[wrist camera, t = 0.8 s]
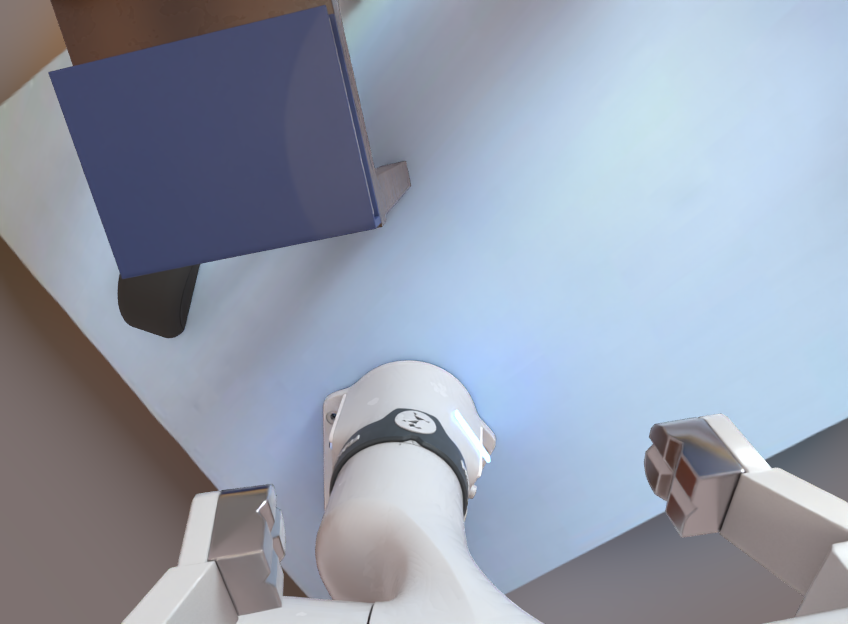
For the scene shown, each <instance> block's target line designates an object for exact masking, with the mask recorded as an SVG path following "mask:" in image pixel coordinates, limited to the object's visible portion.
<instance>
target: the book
mask: <svg viewBox="0 0 848 624" xmlns="http://www.w3.org/2000/svg"><path fill="white" fill-rule="evenodd" d="M48 73H49V76H50V79H51V81H52V84H53V87H54V90H55V93H56V95H57V98H58V101H59V104H60V107H61V109H62V112H63V115H64V118H65V120H66V123H67V126H68V129H69V132H70V134H71V137H72V140H73V143H74V146H75V148H76V151H77V154H78V157H79V160H80V162H81V165H82V168H83V171H84V174H85V176H86V179H87V182H88V185H89V188H90V190H91V193H92V196H93V199H94V202H95V204H96V207H97V210H98V213H99V216H100V218H101V221H102V224H103V227H104V229H105V232H106V235H107V238H108V241H109V243H110V246H111V249H112V252H113V255H114V257H115V260H116V263H117V266H118V269H119V271H120V274H121V277H122V279H126V278H131V277H136V276H141V275H146V274H151V273H156V272H161V271H166V270H171V269H176V268H181V267H186V266H191V265H196V264H201V263H206V262H211V261H216V260H221V259H226V258H231V257H236V256H241V255H246V254H251V253H256V252H261V251H266V250H271V249H276V248H281V247H286V246H291V245H296V244H301V243H306V242H311V241H317V240H322V239H327V238H332V237H337V236H342V235H347V234H352V233H357V232H362V231H367V230H372V229H376V228H377V227H378V225H379V224H380V223H381V218H380V214H379V209H378V205H377V201H376V196H375V192H374V187H373V183H372V178H371V174H370V169H369V165H368V160H367V156H366V152H365V147H364V143H363V138H362V134H361V129H360V125H359V120H358V116H357V111H356V107H355V103H354V98H353V94H352V89H351V85H350V80H349V76H348V71H347V67H346V62H345V58H344V54H343V49H342V45H341V40H340V36H339V31H338V27H337V22H336V18H335V14H329V15H328V11H327V7H326V5H323V6H318V7H314V8H310V9H306V10H302V11H298V12H294V13H290V14H286V15H281V16H277V17H273V18H269V19H265V20H261V21H257V22H253V23H249V24H244V25H240V26H236V27H232V28H228V29H224V30H220V31H216V32H212V33H208V34H203V35H199V36H195V37H191V38H187V39H183V40H179V41H175V42H171V43H166V44H162V45H158V46H154V47H150V48H146V49H142V50H138V51H134V52H129V53H125V54H121V55H117V56H113V57H109V58H105V59H101V60H97V61H93V62H88V63H84V64H80V65H76V66H72V67H68V68H64V69H60V70H56V71H51V72H48Z"/></svg>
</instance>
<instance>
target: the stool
mask: <svg viewBox="0 0 848 624" xmlns="http://www.w3.org/2000/svg"><path fill="white" fill-rule="evenodd" d="M51 3H52V6H53V9H54V12H55V15H56V18H57V20H58V24H59V26H60V29H61V32H62V35H63V38H64V41H65V44H66V47H67V50H68V53H69V55H70V58H71V61H72V64H73V66H76V65H80V64H84V63H88V62H93V61H97V60H101V59H105V58H109V57H113V56H117V55H121V54H125V53H129V52H134V51H138V50H142V49H146V48H150V47H154V46H158V45H162V44H166V43H171V42H175V41H179V40H183V39H187V38H191V37H195V36H199V35H203V34H208V33H212V32H216V31H220V30H224V29H228V28H232V27H236V26H240V25H244V24H249V23H253V22H257V21H261V20H265V19H269V18H273V17H277V16H281V15H286V14H290V13H294V12H298V11H302V10H306V9H310V8H314V7H318V6H323V5H326V7H327V11H328V15H329V14H335V18H336V22H337V27H338V31H339V36H340V40H341V45H342V49H343V54H344V58H345V62H346V67H347V71H348V76H349V80H350V85H351V89H352V94H353V98H354V103H355V107H356V111H357V116H358V120H359V125H360V129H361V134H362V138H363V143H364V147H365V152H366V156H367V160H368V165H369V169H370V174H371V178H372V183H373V187H374V192H375V196H376V201H377V205H378V209H379V214H380V218H381V223H380V224H379V225H378V227H377V228H379V227H382V226H383V225H384V224H385V222H386V217H385V215H386V214H387V213H388V212H389V210H390V209H391V208H392V207H393V206H394V205H395V204H396V202H397V201H398V200H399V199H400V198H401V197H402V196H403V195H404V193H405V192H406V191H407V190H408V189H409V188H410V187H411V183H410V178H409V173H408V168H407V163H406V161H403V162H398V163H393V164H389V165H384V166H381V167H378V168H376V169H375V168H374V163H373V159H372V154H371V150H370V145H369V141H368V136H367V132H366V127H365V123H364V118H363V114H362V109H361V105H360V100H359V96H358V91H357V87H356V82H355V78H354V73H353V69H352V64H351V60H350V55H349V51H348V46H347V42H346V37H345V33H344V28H343V24H342V19H341V15H340V10H339V6H338V1H337V0H51Z"/></svg>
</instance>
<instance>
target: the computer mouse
mask: <svg viewBox="0 0 848 624" xmlns="http://www.w3.org/2000/svg"><path fill="white" fill-rule="evenodd" d="M199 265H200V264H196V265H191V266H186V267H181V268H176V269H171V270H166V271H161V272H156V273H151V274H146V275H141V276H136V277H131V278H126V279H122V277H121V274H120V275H119V281H118V305H119V309H120V312H121V315H122V317H123V319H124V320H125V322H126V323H127V324H129V325H130V326H132V327H135V328H138V329H141V330H144V331H147V332H150V333H153V334H156V335H159V336H162V337H165V338H173V337H176V336H178V335H179V334H181V333H182V332H183V330H184V327H185V324H186V320H187V316H188V312H189V307H190V303H191V299H192V295H193V291H194V286H195V282H196V278H197V274H198V269H199Z"/></svg>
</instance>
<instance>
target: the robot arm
mask: <svg viewBox="0 0 848 624" xmlns="http://www.w3.org/2000/svg"><path fill="white" fill-rule="evenodd" d="M333 413H335V414H337V415H336V417H333V416H332V414H333ZM323 437H324V510H325V513H324V515H323V518H322V521H321V524H320V527H319V530H318V533H317V537H316V546H315V556H316V563H317V568H318V571H319V574H320V576H321V579H322V581H323V583H324V585H325V587H326V589H327V590H328V592H329V594H330V596H331V597H332V599H333V600H326V599H314V598H301V597H288V596H283V584H284V575H283V571H282V568H281V565H280V562H281V561H282V559H283V558H284V557H285V544H286V542H285V526H284V521H283V516H282V512H281V509H279V508H277V507H276V496H277V495H276V492H275V489H274V486H273V484H266V485H258V486H251V487H243V488H235V489H227V490H222V491H214V492H207V493H200V494H196V495H195V497H194V499H193V500H192V503H191V508H190V512H189V517H188V521H187V525H186V530H185V534H184V539H183V543H182V547H181V552H180V556H179V561H178V565H177V567H173V568H169V569H168V570H167V572H166V573H165V574H164V575H163V576H162V577H161V578H160V580H159V581H158V582H157V583H156V584H155V585H154V587H153V588H152V589H151V590H150V591H149V592H148V593H147V594H146V596H145V597H144V598H143V599H142V600H141V601H140V602H139V603H138V605H137V606H136V607H135V608H134V609H133V610H132V612H131V613H130V614H129V615H128V616H127V617H126V618H125V619H124V621H123V622H122V623H121V624H544V623H543V622H541V621H539V620H537V619H536V618H534V617H533V616H531V615H530V614H528V613H527V612H525V611H523V610H522V609H521V608H520V607H518V606H517V605H516V604H515V603H513V602H512V601H511V600H510V599H508V598H507V597H506V596H505V595H504V594H503V593H502V592H501V591H500V590H499V589H498V588H497V587H496V586H495V585H494V584H493V583H492V582H491V581H490V580H489V579H488V578H487V577H486V576H485V574H484V573H483V572H482V571H481V570H480V568H479V567H478V565H477V564H476V563H475V561H474V560H473V558H472V556H471V555H470V552H469V550H468V547H467V541H466V535H465V527H464V521H465V519H466V515H467V505H468V499H469V498H470V499H473V497H474V496H475V493H476V489H477V486H476V485H474V483H475V482H476V480H477V478H479V477H480V476H481V473H482V469H483V467H484V466H485V464H486V462H487V463H489V462H490V455H491V453H492V451H493V450H494V448H495V444H496V437H495V435H494V433H493V432H492V430H491V429H490V428H489V427H488V426H487V425H486V424H485V423H484V422H483V421H482V420H481V419H480V417H479V415H478V413H477V411H476V408H475V405H474V403H473V400H472V398H471V396H470V394H469V393H468V391H467V390H466V388H465V387H464V386H463V385H462V384H461V382H460V381H459V380H457V379H456V378H455V377H454V376H453V375H451V374H450V373H449V372H447V371H445V370H444V369H442V368H440V367H437V366H435V365H432V364H429V363H426V362H421V361H411V360H404V361H395V362H390V363H387V364H384V365H381V366H379V367H377V368H375V369H373V370H371V371H370V372H368V373H367V374H365V375H364V376H363V377H362V378H361V379H360V380H358V381H357V382H356V383H355V384H354V385H352V386H351V387H349V388H345V389H342V390H339V391H336V392H334V393H332V394H330V395H328V396H327V397H326V399H325V401H324V405H323ZM649 438H650V439H651V441H652V442H653V445H652V446H651V447H650V448H649V449H648V450H647V451H646V453H645V459H644V467H645V474H646V477H647V480H648V482H649V485H650V487H651V488H652V490H653V492H654V494H655V495H657V496H659V497H660V498H662V499H663V500H665V501H667V504H666V510H665V512H666V514H667V515H668V517H669V518H670V520H671V522H672V523H673V525H674V527H675V528H676V530H677V531H678V533H679V535H680V537H681V538H682V537H689V536H696V535H703V534H710V533H716V532H720V535H721V536H723V537H724V538H725V539H727V540H728V541H730V542H731V543H732V544H734V545H735V546H737V547H738V548H739V549H740V550H742V551H743V552H744V553H746V554H747V555H748V556H750V557H751V558H752V559H754V560H755V561H757V562H758V563H759V564H761V565H762V566H763V567H765V568H766V569H767V570H769V571H770V572H771V573H773V574H774V575H775V576H777V577H778V578H779V579H781V580H782V581H783V582H785V583H786V584H788V585H789V586H790V587H792V588H793V589H794V590H796V591H797V592H799V593H800V594H801V595H802V596H804V599H803V601H802V603H801V605H800V606H799V608H798V610H797V612H796V614H795V617H794V618H791V619H785V620H780V621H775V622H770V623H765V624H848V502H845V501H844V500H842V499H840V498H838V497H836V496H833V495H832V494H830V493H828V492H826V491H823V490H822V489H819V488H818V487H816V486H814V485H812V484H810V483H808V482H806V481H804V480H802V479H800V478H798V477H796V476H794V475H792V474H790V473H788V472H786V471H784V470H782V469H780V468H771V467H770V466H769V465H768V464H767V462H766V461H765V460H764V459H763V458H762V457H761V455H760V454H759V453H758V452H757V451H756V450H755V448H754V447H753V446H752V445H751V444H750V443H749V441H748V440H747V439H746V438H745V437H744V436H743V434H742V433H741V432H740V431H739V430H738V429H737V427H736V426H735V425H734V424H733V423H732V422H731V420H730V419H729V418H728V417H727V416H725V415H723V414H722V413H720V414H714V415H708V416H701V417H698V418H697V417H694V418H688V419H682V420H676V421H670V422H664V423H658V424H654V425H653V427H652V428H651V430H650V435H649Z"/></svg>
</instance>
